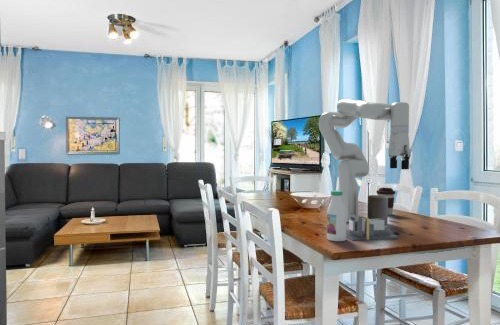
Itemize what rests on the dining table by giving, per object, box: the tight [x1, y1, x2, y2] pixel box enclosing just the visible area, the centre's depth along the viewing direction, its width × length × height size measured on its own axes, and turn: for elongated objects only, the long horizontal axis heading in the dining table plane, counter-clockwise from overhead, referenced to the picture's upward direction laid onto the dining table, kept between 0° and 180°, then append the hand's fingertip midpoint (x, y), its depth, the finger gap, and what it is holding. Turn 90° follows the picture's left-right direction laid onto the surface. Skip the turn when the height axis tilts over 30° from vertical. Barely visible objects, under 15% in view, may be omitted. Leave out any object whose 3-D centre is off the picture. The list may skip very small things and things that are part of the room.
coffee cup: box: [376, 187, 396, 216], centre depth 209 cm, size 10×10×15 cm
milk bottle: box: [326, 190, 347, 242], centre depth 151 cm, size 8×8×20 cm
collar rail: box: [346, 213, 399, 241], centre depth 156 cm, size 12×20×9 cm, turn 98°
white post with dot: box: [348, 218, 385, 231], centre depth 156 cm, size 4×14×4 cm, turn 98°
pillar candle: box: [366, 193, 389, 226], centre depth 183 cm, size 10×10×15 cm
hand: (399, 168), depth 165 cm, fingers open, 9 cm apart
